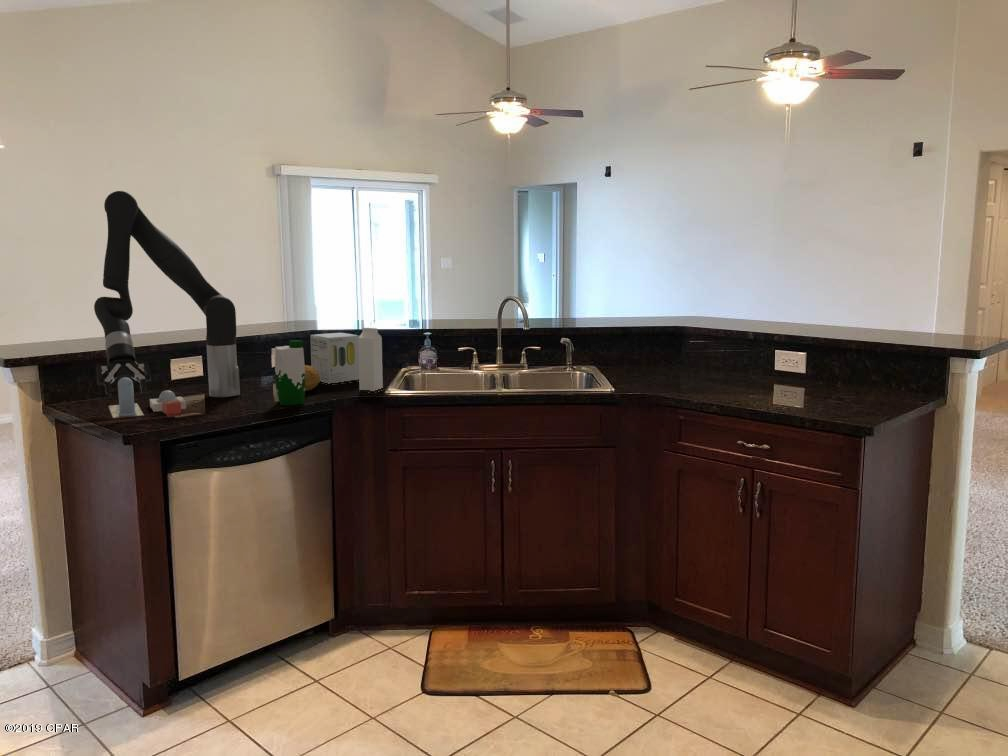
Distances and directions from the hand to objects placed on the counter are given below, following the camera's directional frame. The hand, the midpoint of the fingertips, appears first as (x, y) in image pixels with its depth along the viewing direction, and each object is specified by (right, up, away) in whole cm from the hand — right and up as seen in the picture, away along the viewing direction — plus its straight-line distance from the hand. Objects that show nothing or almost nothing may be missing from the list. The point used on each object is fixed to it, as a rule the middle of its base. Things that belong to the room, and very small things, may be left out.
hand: (126, 393), depth 221 cm
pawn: (0, -6, 0) cm, 6 cm away
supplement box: (+46, +3, +65) cm, 80 cm away
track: (-3, -6, +6) cm, 9 cm away
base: (+7, -5, +11) cm, 14 cm away
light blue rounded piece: (+7, -5, +10) cm, 14 cm away
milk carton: (+41, -4, +23) cm, 47 cm away
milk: (+63, 0, +45) cm, 77 cm away
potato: (+40, 0, +42) cm, 58 cm away
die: (+12, -6, +3) cm, 14 cm away
